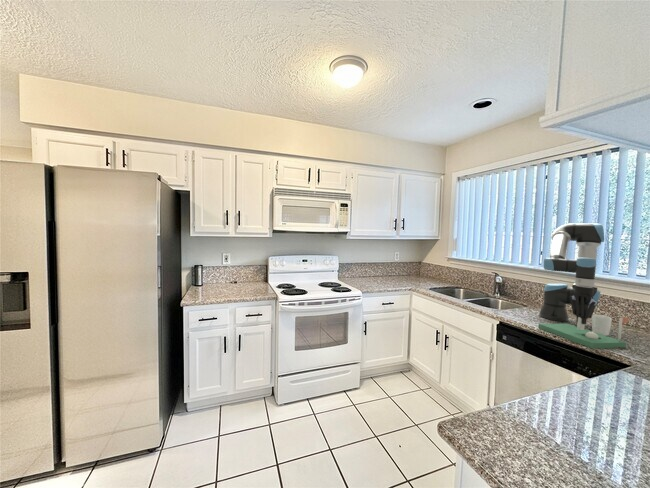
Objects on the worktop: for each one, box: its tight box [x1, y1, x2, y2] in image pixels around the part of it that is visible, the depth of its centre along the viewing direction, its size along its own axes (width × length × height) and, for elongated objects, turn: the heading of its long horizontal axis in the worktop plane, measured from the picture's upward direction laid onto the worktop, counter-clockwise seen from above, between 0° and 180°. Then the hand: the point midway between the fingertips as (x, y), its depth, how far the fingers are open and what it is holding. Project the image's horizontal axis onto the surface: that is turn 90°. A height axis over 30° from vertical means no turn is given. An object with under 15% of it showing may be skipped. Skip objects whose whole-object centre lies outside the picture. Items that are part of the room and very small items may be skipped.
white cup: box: [591, 313, 613, 337], centre depth 153 cm, size 8×8×10 cm
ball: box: [585, 332, 599, 339], centre depth 140 cm, size 5×5×5 cm
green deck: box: [538, 317, 629, 349], centre depth 146 cm, size 22×28×14 cm
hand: (580, 329), depth 146 cm, fingers closed
